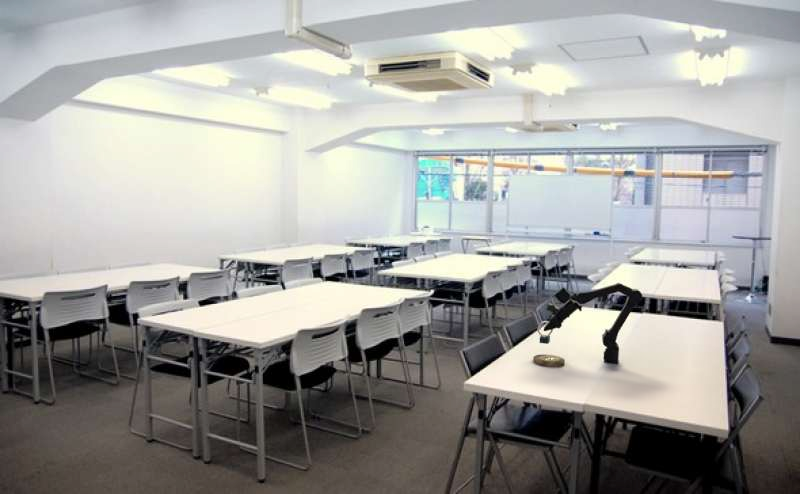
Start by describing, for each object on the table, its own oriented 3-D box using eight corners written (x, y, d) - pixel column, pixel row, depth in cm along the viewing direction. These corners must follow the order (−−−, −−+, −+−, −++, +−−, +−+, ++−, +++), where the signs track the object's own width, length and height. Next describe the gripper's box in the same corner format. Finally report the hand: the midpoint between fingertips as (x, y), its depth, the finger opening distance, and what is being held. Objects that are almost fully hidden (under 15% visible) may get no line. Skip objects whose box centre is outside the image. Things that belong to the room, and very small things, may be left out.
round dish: (567, 361, 285) (567, 356, 285) (561, 369, 272) (561, 364, 272) (537, 356, 292) (537, 352, 292) (529, 364, 279) (530, 359, 278)
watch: (537, 340, 299) (538, 319, 298) (553, 341, 296) (554, 321, 295) (535, 342, 294) (536, 321, 293) (551, 344, 291) (552, 323, 290)
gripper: (556, 295, 301) (534, 314, 305) (555, 301, 283) (532, 321, 287) (571, 311, 299) (549, 330, 303) (571, 318, 281) (547, 338, 285)
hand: (544, 329), depth 295 cm, fingers closed on watch, 4 cm apart
